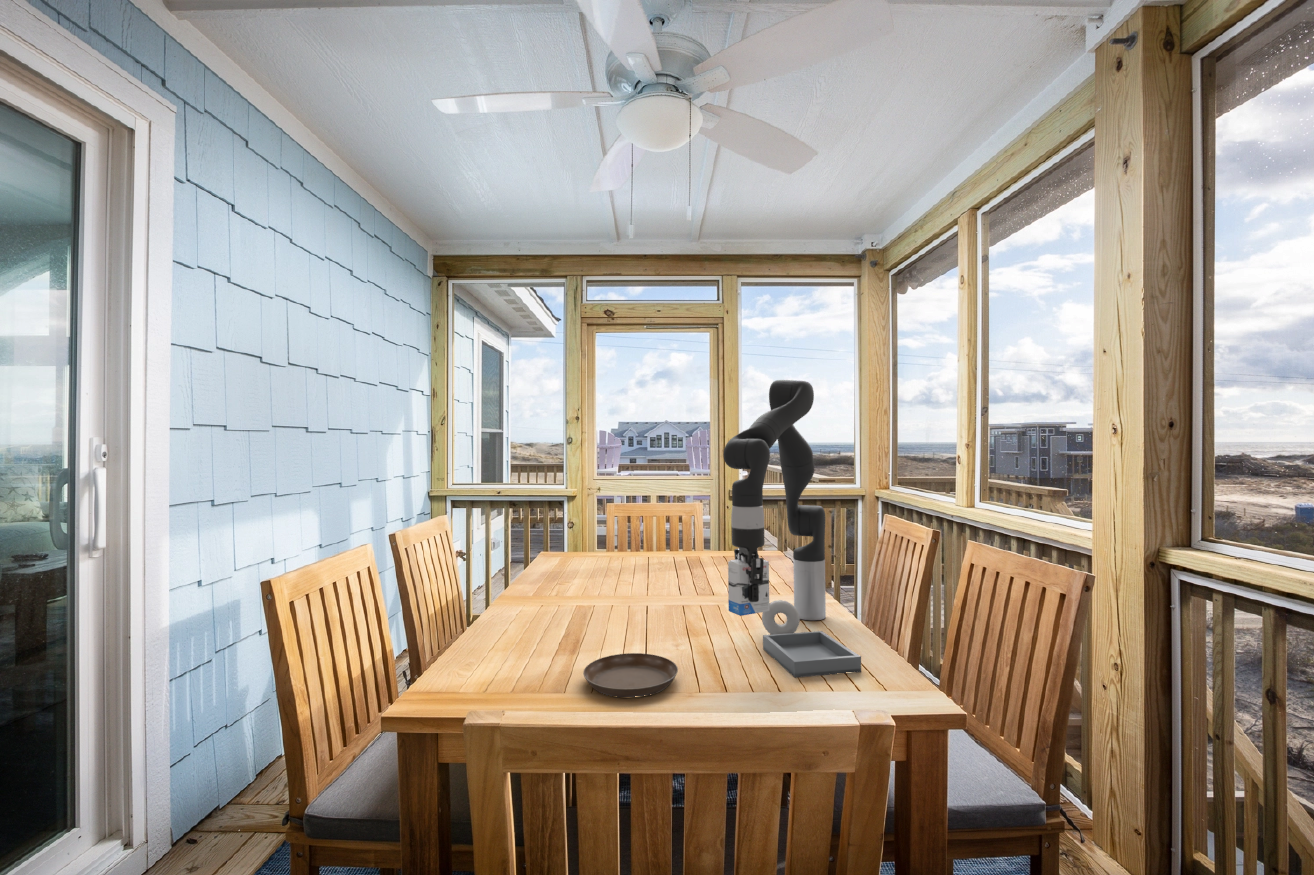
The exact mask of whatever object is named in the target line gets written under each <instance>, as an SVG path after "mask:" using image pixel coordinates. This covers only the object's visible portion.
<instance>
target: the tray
mask: <svg viewBox="0 0 1314 875" xmlns="http://www.w3.org/2000/svg"><path fill="white" fill-rule="evenodd" d="M762 649H763V651H765V653H767V654H768V655H769V656H770V657H771V658H772V659H773V660H775V662H776V663H778V664H779V665H780V666H781V667H782V668H784V670H786V672H788V673H789V674H790V675H791V676H793V678H795V679H797V678H805V677H819V676H829V675H830V674H832V675H838V674H837V673H844V674H847V673H846V672H856V673H862V656H861V655H860V654H858V653H857V652H855V651H853V650H852V649H850V648H849V647H847V646H846V645H844V644H843V643H841V642H839V641H838V640H836V639H835V638H833V636H830V635H829V634H827V633H826V632H824V631H823V630H817V631H804V632H803V631H801V632H800V631H799V632H794V633H786V634H772V635H771V634H762Z"/></svg>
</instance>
